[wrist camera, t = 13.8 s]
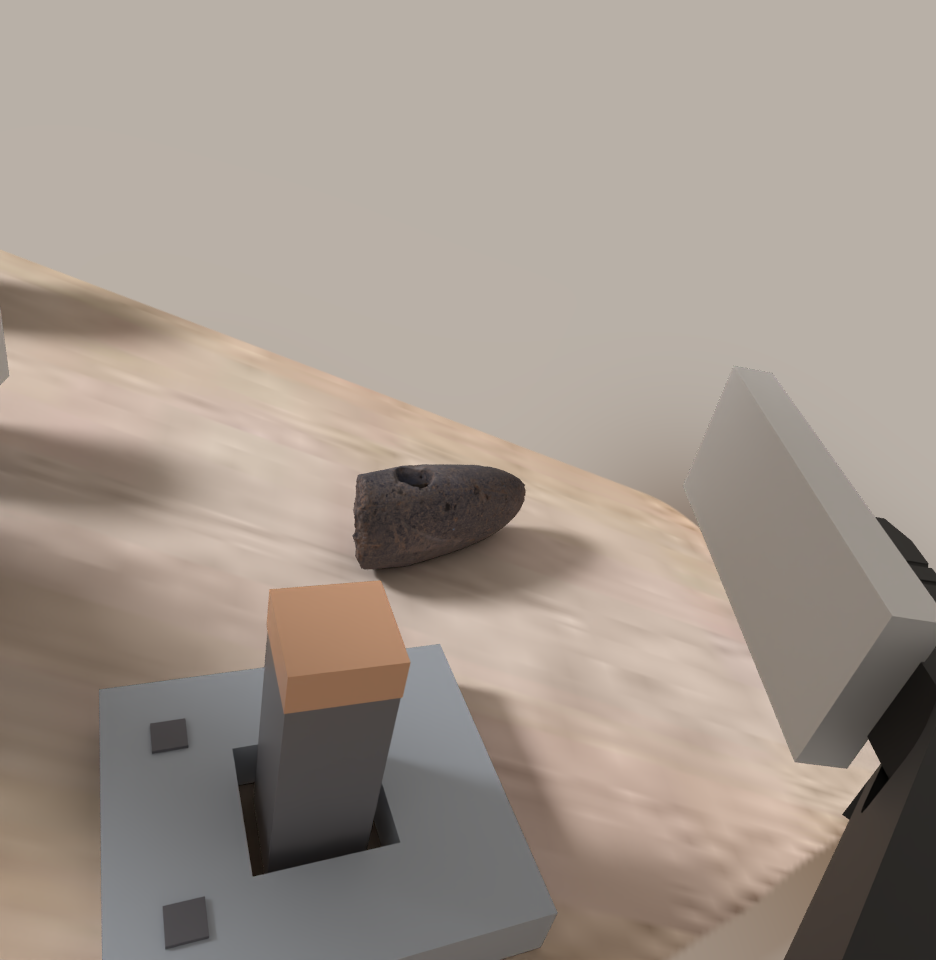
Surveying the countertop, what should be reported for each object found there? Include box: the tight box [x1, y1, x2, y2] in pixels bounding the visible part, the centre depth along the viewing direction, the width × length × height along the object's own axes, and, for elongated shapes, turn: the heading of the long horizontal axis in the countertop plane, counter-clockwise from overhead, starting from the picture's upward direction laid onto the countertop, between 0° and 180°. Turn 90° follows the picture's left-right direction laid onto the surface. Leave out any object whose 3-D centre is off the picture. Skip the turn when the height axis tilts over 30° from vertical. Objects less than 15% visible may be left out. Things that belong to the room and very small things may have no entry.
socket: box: [99, 644, 557, 960], centre depth 38 cm, size 18×16×3 cm
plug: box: [253, 580, 411, 874], centre depth 35 cm, size 5×5×14 cm
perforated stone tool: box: [353, 464, 526, 569], centre depth 57 cm, size 15×5×7 cm, turn 121°
